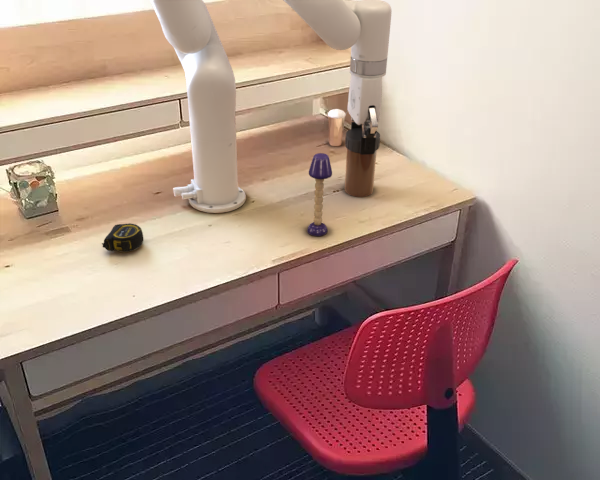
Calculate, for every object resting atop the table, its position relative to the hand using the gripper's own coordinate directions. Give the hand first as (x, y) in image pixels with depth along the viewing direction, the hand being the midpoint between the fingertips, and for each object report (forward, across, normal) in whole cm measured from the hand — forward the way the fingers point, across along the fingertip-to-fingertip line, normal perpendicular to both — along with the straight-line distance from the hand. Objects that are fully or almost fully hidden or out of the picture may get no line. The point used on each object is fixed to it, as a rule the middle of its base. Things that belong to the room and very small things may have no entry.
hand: (362, 145), depth 150 cm
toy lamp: (+11, +17, -13) cm, 24 cm away
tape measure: (+11, +17, -53) cm, 57 cm away
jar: (+11, 0, 0) cm, 11 cm away
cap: (-2, 0, 0) cm, 2 cm away
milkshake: (+11, -27, +1) cm, 29 cm away
